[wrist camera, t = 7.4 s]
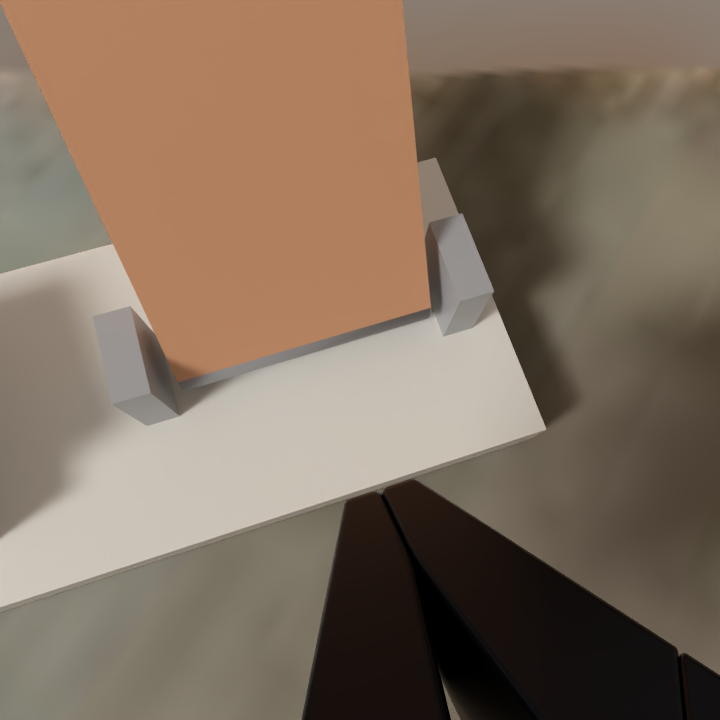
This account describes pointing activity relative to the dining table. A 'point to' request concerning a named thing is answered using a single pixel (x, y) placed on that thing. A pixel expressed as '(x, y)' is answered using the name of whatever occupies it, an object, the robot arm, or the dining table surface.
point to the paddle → (243, 166)
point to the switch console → (227, 415)
